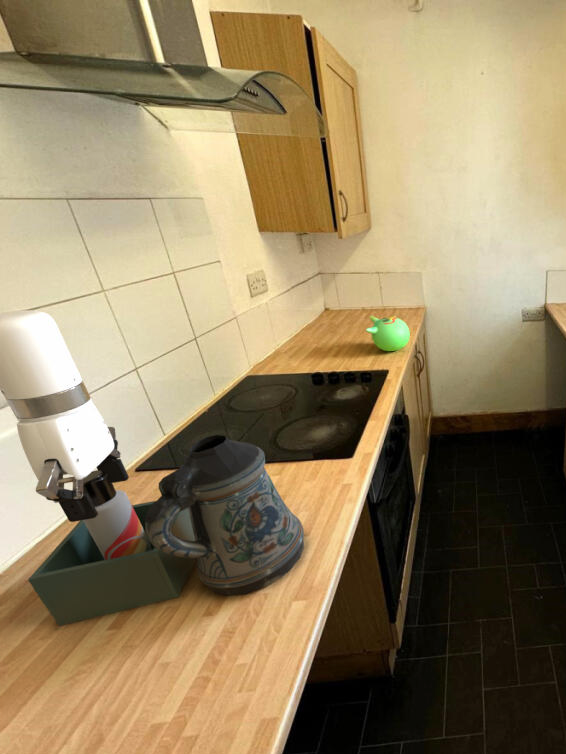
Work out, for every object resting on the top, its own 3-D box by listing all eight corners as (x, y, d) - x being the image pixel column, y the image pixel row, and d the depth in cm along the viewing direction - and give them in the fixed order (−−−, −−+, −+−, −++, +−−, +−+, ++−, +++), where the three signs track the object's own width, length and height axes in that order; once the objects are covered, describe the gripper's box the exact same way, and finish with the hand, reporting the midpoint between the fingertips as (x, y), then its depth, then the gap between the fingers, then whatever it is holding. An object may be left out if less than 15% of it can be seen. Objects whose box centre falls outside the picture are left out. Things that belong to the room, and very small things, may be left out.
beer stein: (317, 521, 83) (288, 411, 73) (283, 607, 66) (238, 478, 56) (229, 531, 81) (187, 419, 71) (169, 622, 64) (101, 490, 54)
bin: (58, 626, 63) (27, 579, 59) (109, 555, 76) (86, 513, 72) (178, 597, 68) (157, 552, 64) (207, 534, 80) (191, 494, 76)
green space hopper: (411, 354, 174) (407, 320, 168) (369, 358, 170) (364, 323, 165) (411, 341, 190) (407, 310, 184) (372, 344, 186) (367, 312, 181)
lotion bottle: (152, 578, 70) (103, 481, 62) (110, 589, 68) (54, 491, 60) (163, 554, 75) (120, 461, 67) (125, 563, 73) (75, 469, 65)
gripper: (57, 380, 65) (102, 472, 72) (-36, 435, 50) (33, 544, 57) (116, 374, 67) (154, 464, 74) (44, 424, 52) (101, 531, 59)
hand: (101, 498), depth 65 cm, fingers open, 8 cm apart
